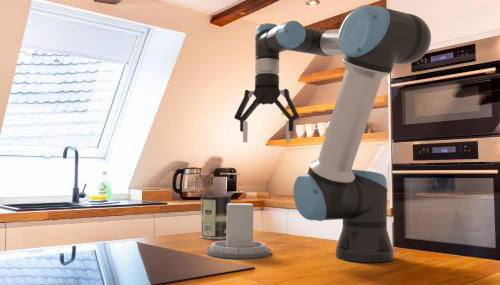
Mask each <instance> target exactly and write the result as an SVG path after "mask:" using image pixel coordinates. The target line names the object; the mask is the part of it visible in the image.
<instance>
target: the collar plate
mask: <svg viewBox="0 0 500 285" xmlns="http://www.w3.org/2000/svg"><path fill="white" fill-rule="evenodd" d="M205 251H206V252H205V254H206V255H207V256H209V257H213V258H220V259H229V260H253V259H262V258H267V257H270V256H271V255H272V249H271V248H269V247H267V243H264V242H263V241H259V240H258V241H256V240H253V247H251V248H231V247H226V240H225V239H223V240H218V241H217V240H216V241H214V242H211V243H210V246H209V247H207V248H206V249H205Z"/></svg>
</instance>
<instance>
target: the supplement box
mask: <svg viewBox="0 0 500 285" xmlns="http://www.w3.org/2000/svg"><path fill="white" fill-rule="evenodd" d="M253 241H254V204H253V203H248V202H247V203H244V202H243V203H239V202H238V203H234V202H231V203H228V204H227V227H226V247H231V248H251V247H253Z"/></svg>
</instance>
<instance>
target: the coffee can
mask: <svg viewBox="0 0 500 285" xmlns="http://www.w3.org/2000/svg"><path fill="white" fill-rule="evenodd" d="M200 198H201V203H200V204H201V205H200V209H201V210H200V212H201V213H200V238H202V239H204V240H205V239H206V240H225V239H226V227H227V204H228V203H232V196H231V195H223V194H219V195H218V194H208V195H207V194H206V195H200Z"/></svg>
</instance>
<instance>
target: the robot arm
mask: <svg viewBox="0 0 500 285" xmlns="http://www.w3.org/2000/svg"><path fill="white" fill-rule="evenodd" d="M254 40H255V42H254V44H255V45H254V46H255V56H254V57H255V60H254V61H255V66H254V68H255V69H254V73H255V75H254V90H248V89H245V90H244V95H243V96H244V97H243V98H242V100H241V102H240V104H239V107H238V108H237V111H236V113H235V114H234V117H233V118H234V119H235V120H237V121H239V131H240V132H242V142H243V143H248V133H249V132H248V130H249V129H248V126H249V124H248V123H249V122H248V121H247V119H248V118H249V117H250V116H251V115H252V114H253V112H254V111H255V110H256V108H257V107H259V105H273V104H275V105H276V106H277V107H278V109H279V110H280V111H281V113H282V114H284V116H285V117H286V118H287V119H288V120H286V122H285V143H290V142H291V132H293V131H294V121H297V120H299V119H300V115H299V112H298V111H297V109H296V107H295V105H294V103H293V100H292V98H291V97H290V90H289V89H288V88H284V89H280V76H279V74H280V53H282V52H285V51H290V52H296V53H297V52H298V53H303V54H311V55H318V56H321V57H333V56H342V59H341V60H342V62H343V65H344V66H345V72H344V74H343V78H342V81H341V84H340V87H339V91H338V93H337V97H336V100H335V104H334V106H333V107H334V108H333V110H332V113H331V117H330V119H329V124H328V127H327V130H326V133H325V136H324V140H323V143H322V146H321V149H320V152H319V155H318V158H317V159H315V160H313V161H311V162H310V164H309V167H308V169H307V170H308V171H307V173H302V174H300V175H299V176H297V177H296V179H295V181H294V183H293V189H292V194H293V200H294V204H295V207H296V209H297V211H298V213H299V214H300V216H302V218H304V219H306V220H308V221H318V222H323V221H331V220H332V221H333V220H337V221H338V220H342V228H341V232H340V234H339V238H338V242H337V244H336V248H335V257H336V258H338V259H340V260H345V261H349V262H357V263H358V262H360V263H386V262H391V261H393V260H394V259H395V255H394V254H395V250H394V246H393V245H392V242H391V238H390V235H389V232H388V192H389V190H388V187H387V184H388V183H387V182H388V181H387V178H386V176H385V175H384V174H383V173H380V172H376V171H371V170H370V171H369V170H361V169H352V168H353V166H354V163H355V160H356V157H357V154H358V151H359V147H360V145H361V143H362V139H363V136H364V133H365V130H366V127H367V123H368V121H369V118H370V116H371V112H372V109H373V106H374V103H375V101H376V99H377V94H378V91H379V88H380V86H381V83H382V79H384V78H385V77H387V76H389V75H391V74H392V72H393V68H394V66H395V64H401V65H405V64H406V65H407V64H412V63H414V62H418V61H419V60H420V59H422V58H423V57H424V56H425V55H426V53H427V52H428V50H429V48H430V47H431V46H430V45H431V41H432V34H431V30H430V27H429V25H428V24H427V23H426V21H424V19H422V18H421V17H420V16H418V15H415V14H412V13H407V12H404V11H399V10H395V9H391V8H388V7H387V8H386V7H384V6H382V5H381V6H379V5H371V4H364V5H359V6H358V7H356V8H354V9H353V10H352V11H350V13H348V15H347V16H346V17H345V19H344V20H343V22H342V24H341V26H340V28H339V29H337V28H335V29H316V28H311V27H305V26H304V25H303V24H302V23H300V21H298V20H289V21H285V22H282V23H281V24H279V25H278V24H276V23H272V22H271V23H268V22H267V23H261V24H259V25H257V26H256V29H255V37H254ZM280 95H282V97H283V98H284V99H285V101H286V103H287V104H288V107H289V109H290V111H291V113H292V114H293V115H291V114H290V112H289V110H287V109H286V107H284V105H283V104H282V103H281V102H280V101H279V97H280ZM252 96H254V100H253V101H252V103H251V104H250V105H249V107H247V105H248V103H249V101H250V99H251V98H252ZM246 108H247V109H246ZM245 109H246V110H245Z"/></svg>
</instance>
